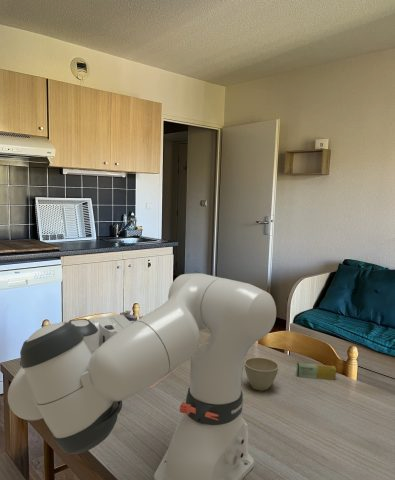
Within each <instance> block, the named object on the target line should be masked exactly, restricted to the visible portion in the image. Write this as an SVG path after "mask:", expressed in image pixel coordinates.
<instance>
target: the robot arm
mask: <svg viewBox="0 0 395 480" xmlns="http://www.w3.org/2000/svg"><path fill="white" fill-rule="evenodd" d="M142 316H143V315H142ZM276 318H277V306H276V302H275V300H274V298H273V296H272V295H271V293H269V292H267V291H266V290H264V289H262V288H259V287H257V286H255V285H253V284H251V283H247V282H243V281H239V280H233V279H229V278H225V277H219V276H215V275H210V274H206V273H195V272H194V273H184V274H179V276H177V277H176V278H175V279H174V280H173V281H172V283H171V284H170V288H169V290H168V297H167V300H166V301H165V302H164V303H163V304H162V305H160V306H159V307H157V308H156V309H154V310H152V311H151V312H148V314H145V315H144V316H143V317H142V318H140V319H139V318H137V321H129V320H128V319H127V318H126V317H125V316H124V315H120V314H114V315H107V316H101V317H94V318H93V317H91V318H89V319H88V318H77V319H70V320H66V321H63V322H57V323H52V324H51V323H50V324H47V325H45V326H41V327H40V328H39V329H37V330H36V331H35V332H33V333H32V334H31V335H30V336H29V337H28V339H26V340H25V341H23V344H22V346H21V349H20V361H19V366H20V368H19V370H18V371H17V373H16V374H15V376H14V377H13V379H12V380H11V382H10V385H9V387H8V390H7V403H8V406H9V409H10V410H11V411H12V413H13V414H15V416H16V417H18V418H20V419H23V420H26V421H39V420H41V419H43V420H44V423H45V424H46V426H47V428H48V429H49V430H50V432H51V434H52V440H54V443H56V445H57V446H58V447H59V448H60V450H61V451H62V452H63V453H65V454H68V455H80V454H83V453H85V452H88V451H90V450H91V449H93V448H95V447H97V446H98V445H99V444H101V443H102V442H103V441H105V440H106V439H107V438H108V437H109V435H110V434H111V432H112V431H113V429H114V428H115V425H116V422H117V421H118V414H119V413H120V412H121V410H122V408H123V401H124V400H126V399H128V398H130V397H133V396H135V395H137V394H139V393H142V392H143V391H145V390H147V389H149V388H148V387H150V386H152V385H153V384H155V383H157V382H158V381H160V380H161V379H162V378H164V377H165V376H167V375H168V374H169V373H171V372H172V371H173V372H174V370H175V369H176V368H177V369H178V368H180V367H181V366H182V365H183V364H185V363H186V362H187V361H188V360H190V370H189V371H190V373H189V374H190V375H189V386H188V387H189V388H188V389H187V393H186V396H185V397H186V398H185V402H184V401H183V402H181V403H180V406H179V413H182V414H181V417H180V418H179V421H178V424H177V426H176V429H175V430H174V433H173V435H172V438H171V440H170V443H169V445H168V448H167V450H166V452H165V454H164V456H163V457H162V459H161V461H160V463H159V465H158V466H157V468H156V471H155V472H154V474H153V480H243V478H244V477H246V475H247V474H249V473H250V471H251V470H252V469H253V468H254V467H255V460H254V458H253V457H252V456H251V454H249V425H248V423H247V421H246V419H244V416H243V413H242V412H243V405H244V395H243V394H244V393H243V391H242V382H243V381H242V379H243V371H244V365H245V359H246V356H247V355H248V354H247V353H248V352H249V350H250V349H251V347H252V346H253V345H254V344H255V343H256V342H258V341H260V340H261V339H263V338H265V337H266V336H267V335H268V334H269V333H270V332H271V330H272V329H273V327H274V325H275V324H276V323H275V322H276V320H277V319H276ZM204 330H209V335H210V336H209V340H208V342H207V343H205V344H202V345H201V346H200V340H201V334H200V333H201V331H204ZM180 365H181V366H180ZM179 366H180V367H179ZM177 369H176V370H177ZM176 370H175V371H176ZM173 372H172V373H173ZM172 373H171V374H172ZM169 375H170V374H169ZM169 375H168V376H169ZM168 376H167V377H168ZM165 378H166V377H165ZM165 378H164V379H165ZM160 382H161V381H160Z"/></svg>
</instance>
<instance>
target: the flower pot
mask: <svg viewBox="0 0 395 480" xmlns="http://www.w3.org/2000/svg"><path fill="white" fill-rule="evenodd" d="M244 370H245V375H246V377H247V380H248V383H249V384H250V386H251V387H252V389H253V390H257V391H262V392H263V391H267V390H269V389H270V387H271V386H272V385H273V383H274V381H275V379H276V377H277V374H278V372H279V364H278V362H276V361H274V360H273V359H269V358H266V357H260V356H259V357H257V356H256V357H248V358H247V359H246V360H245V359H244Z"/></svg>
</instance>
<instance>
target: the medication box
mask: <svg viewBox="0 0 395 480" xmlns="http://www.w3.org/2000/svg"><path fill="white" fill-rule="evenodd" d="M336 374H337V368H336V366H335V365H329V364H328V365H327V364H319V363H318V364H316V363H305V362H299V361H298V362H296V371H295V376H296V377H297V378H307V379H309V378H310V379H318V380H319V379H320V380H327V381H328V380H329V381H336Z"/></svg>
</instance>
